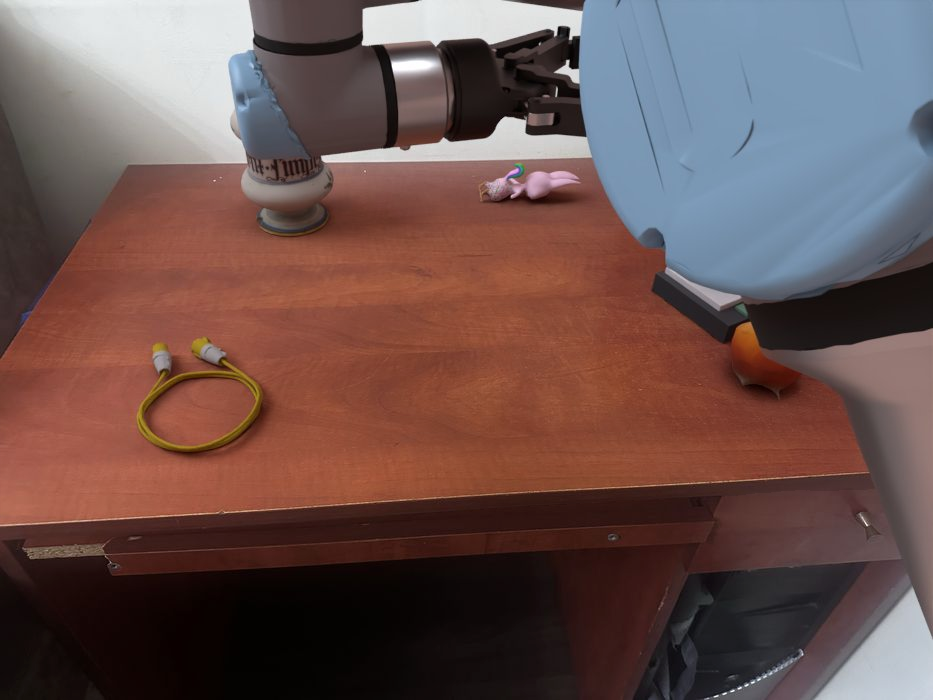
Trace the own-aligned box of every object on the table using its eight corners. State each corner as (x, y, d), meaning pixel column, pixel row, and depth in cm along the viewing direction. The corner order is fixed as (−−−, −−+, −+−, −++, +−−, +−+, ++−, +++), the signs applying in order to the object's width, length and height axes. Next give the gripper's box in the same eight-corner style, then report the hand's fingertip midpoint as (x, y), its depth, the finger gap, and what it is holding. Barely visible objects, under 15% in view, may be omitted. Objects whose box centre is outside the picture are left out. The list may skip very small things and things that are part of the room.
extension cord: (274, 346, 77) (271, 331, 76) (253, 454, 65) (249, 439, 64) (158, 348, 76) (154, 334, 75) (116, 459, 64) (109, 444, 63)
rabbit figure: (482, 215, 104) (584, 201, 103) (477, 178, 100) (583, 163, 99) (479, 195, 109) (576, 181, 108) (474, 159, 105) (575, 145, 104)
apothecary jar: (235, 210, 100) (210, 81, 88) (314, 190, 105) (301, 66, 93) (267, 249, 92) (245, 114, 80) (351, 226, 97) (341, 96, 86)
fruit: (724, 391, 72) (745, 315, 71) (717, 379, 80) (735, 310, 79) (807, 411, 71) (830, 333, 69) (792, 396, 78) (812, 326, 77)
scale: (792, 314, 86) (802, 291, 84) (723, 343, 81) (731, 320, 79) (719, 265, 93) (726, 243, 91) (651, 290, 88) (656, 267, 86)
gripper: (399, 85, 67) (600, 69, 72) (493, 212, 49) (750, 176, 55) (397, -1, 62) (613, -12, 68) (500, 104, 44) (781, 78, 50)
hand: (674, 72), depth 61 cm, fingers open, 13 cm apart
